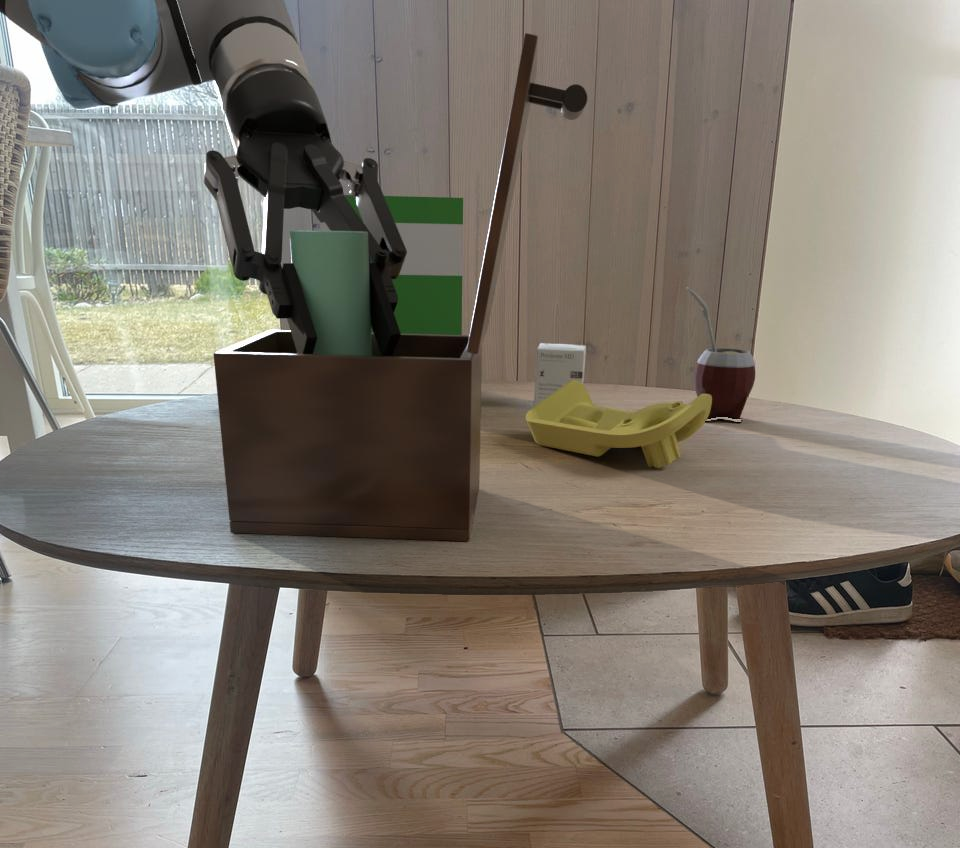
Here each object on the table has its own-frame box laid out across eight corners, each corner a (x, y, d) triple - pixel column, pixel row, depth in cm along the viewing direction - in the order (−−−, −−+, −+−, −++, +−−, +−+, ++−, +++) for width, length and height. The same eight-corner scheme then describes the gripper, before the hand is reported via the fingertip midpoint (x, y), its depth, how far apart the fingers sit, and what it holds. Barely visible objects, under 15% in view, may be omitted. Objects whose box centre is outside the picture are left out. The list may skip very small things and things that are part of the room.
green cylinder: (291, 392, 69) (281, 230, 64) (308, 380, 74) (299, 230, 69) (366, 394, 68) (361, 232, 64) (377, 382, 74) (373, 231, 69)
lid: (525, 32, 55) (600, 49, 55) (526, 69, 68) (586, 83, 68) (466, 352, 62) (532, 366, 63) (477, 328, 76) (532, 340, 76)
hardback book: (328, 395, 122) (319, 194, 112) (330, 386, 129) (321, 195, 119) (460, 395, 124) (463, 197, 114) (456, 386, 131) (457, 198, 121)
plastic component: (516, 419, 97) (583, 370, 101) (540, 478, 101) (604, 430, 105) (646, 441, 82) (720, 383, 85) (668, 509, 86) (739, 452, 89)
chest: (230, 533, 69) (212, 353, 63) (279, 481, 82) (268, 329, 77) (469, 541, 68) (472, 360, 63) (479, 488, 81) (482, 335, 76)
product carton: (533, 408, 116) (535, 347, 113) (536, 400, 122) (539, 342, 119) (581, 410, 116) (585, 349, 113) (582, 402, 121) (586, 343, 118)
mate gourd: (759, 420, 113) (779, 288, 106) (722, 427, 108) (740, 290, 102) (708, 410, 118) (724, 284, 111) (670, 417, 113) (684, 286, 107)
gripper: (370, 152, 80) (451, 373, 74) (148, 141, 72) (216, 388, 66) (392, 74, 74) (482, 309, 67) (150, 53, 66) (226, 316, 60)
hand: (350, 347), depth 67 cm, fingers closed on green cylinder, 6 cm apart
